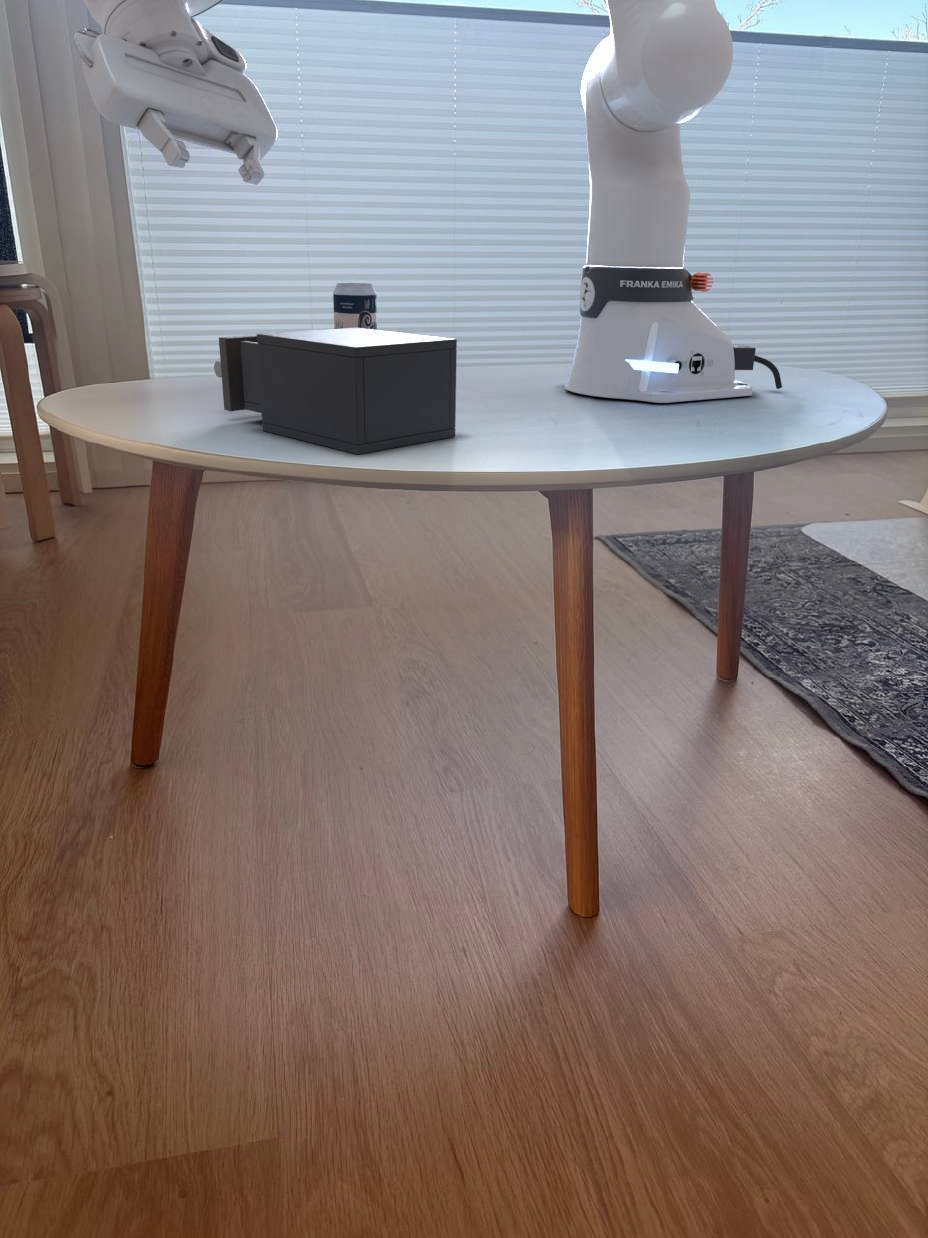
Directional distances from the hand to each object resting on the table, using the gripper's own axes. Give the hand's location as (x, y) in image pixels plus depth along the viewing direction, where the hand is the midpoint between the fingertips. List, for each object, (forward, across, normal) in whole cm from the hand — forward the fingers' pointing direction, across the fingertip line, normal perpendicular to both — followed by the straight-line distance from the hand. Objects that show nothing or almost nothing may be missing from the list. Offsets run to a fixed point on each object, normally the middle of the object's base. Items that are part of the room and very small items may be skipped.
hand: (219, 171), depth 91 cm
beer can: (+20, +15, +9) cm, 27 cm away
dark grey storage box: (+31, -2, -2) cm, 31 cm away
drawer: (+24, -1, +5) cm, 24 cm away
